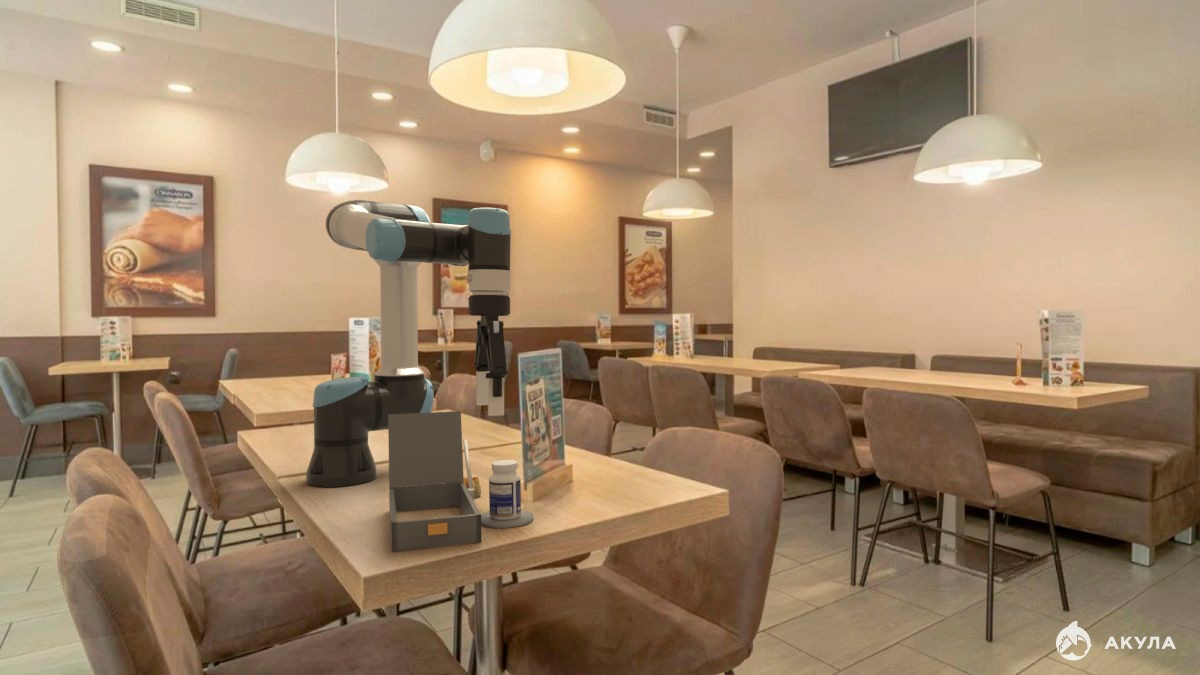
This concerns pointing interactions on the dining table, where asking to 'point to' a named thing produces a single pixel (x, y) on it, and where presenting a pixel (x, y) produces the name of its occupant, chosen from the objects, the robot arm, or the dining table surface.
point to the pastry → (474, 486)
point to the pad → (520, 521)
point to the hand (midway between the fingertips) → (489, 410)
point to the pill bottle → (505, 490)
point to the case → (430, 481)
